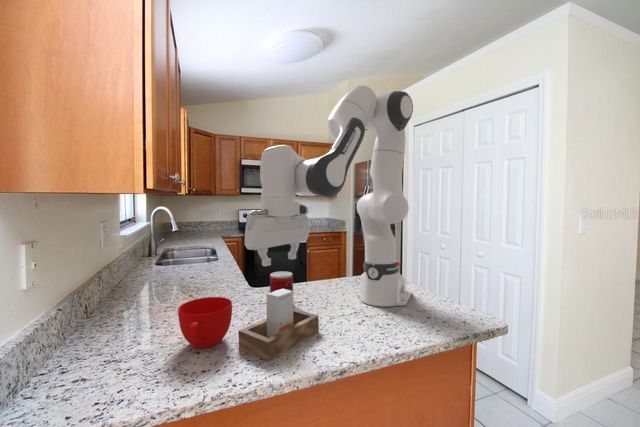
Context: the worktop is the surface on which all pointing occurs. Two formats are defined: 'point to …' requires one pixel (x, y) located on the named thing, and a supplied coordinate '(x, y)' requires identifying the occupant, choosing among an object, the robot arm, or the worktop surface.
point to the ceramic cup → (205, 321)
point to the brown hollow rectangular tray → (277, 336)
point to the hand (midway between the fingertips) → (280, 262)
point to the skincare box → (279, 311)
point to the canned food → (281, 281)
